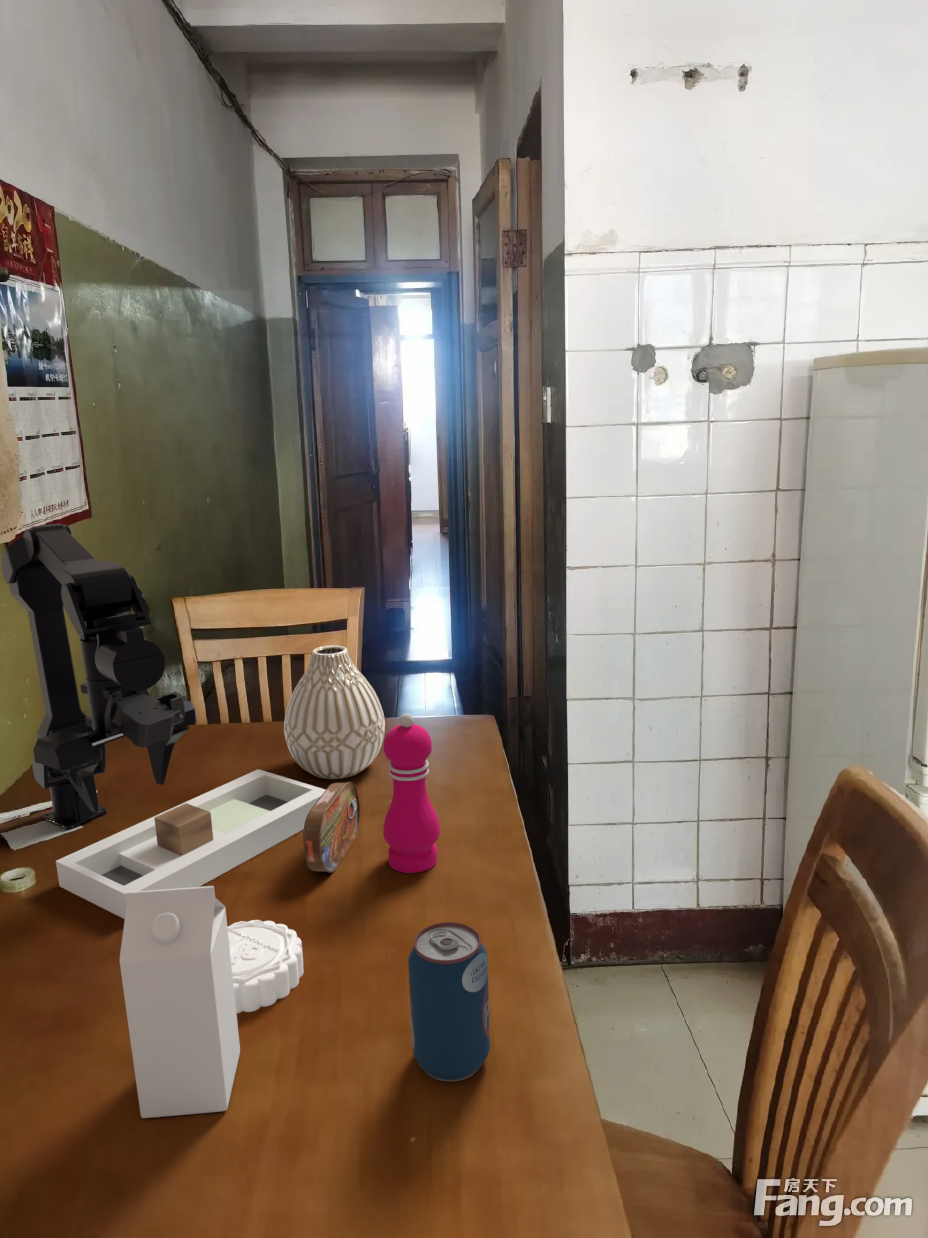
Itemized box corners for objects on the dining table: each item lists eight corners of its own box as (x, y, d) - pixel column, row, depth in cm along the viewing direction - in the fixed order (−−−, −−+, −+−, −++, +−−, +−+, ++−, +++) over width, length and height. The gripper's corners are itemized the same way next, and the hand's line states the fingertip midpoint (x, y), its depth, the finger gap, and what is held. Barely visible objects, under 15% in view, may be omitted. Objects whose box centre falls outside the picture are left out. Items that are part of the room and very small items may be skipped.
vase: (308, 798, 135) (298, 670, 130) (274, 763, 148) (264, 646, 143) (403, 774, 142) (398, 652, 137) (363, 743, 156) (356, 631, 151)
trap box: (59, 886, 112) (55, 861, 111) (260, 790, 138) (258, 769, 137) (132, 923, 103) (129, 896, 102) (331, 813, 129) (330, 791, 128)
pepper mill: (450, 853, 117) (445, 708, 112) (425, 880, 111) (418, 727, 106) (402, 843, 120) (394, 701, 115) (374, 869, 114) (365, 720, 109)
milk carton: (161, 1060, 82) (137, 870, 77) (240, 1053, 82) (221, 865, 78) (140, 1120, 75) (112, 917, 70) (227, 1113, 75) (205, 910, 71)
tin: (325, 885, 110) (321, 822, 108) (301, 883, 111) (296, 820, 109) (363, 828, 125) (360, 772, 123) (341, 827, 125) (338, 771, 123)
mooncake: (160, 990, 92) (156, 959, 91) (249, 932, 101) (246, 903, 101) (241, 1032, 85) (238, 999, 84) (328, 966, 95) (325, 936, 94)
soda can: (505, 1065, 80) (503, 946, 77) (438, 1099, 76) (433, 975, 73) (463, 1022, 85) (459, 909, 82) (399, 1052, 82) (392, 935, 79)
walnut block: (157, 845, 117) (154, 817, 116) (189, 830, 121) (185, 803, 120) (182, 856, 114) (178, 827, 113) (213, 840, 118) (210, 812, 117)
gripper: (78, 705, 94) (98, 843, 98) (218, 662, 109) (232, 783, 112) (21, 692, 101) (42, 821, 104) (161, 653, 115) (176, 767, 119)
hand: (128, 797), depth 110 cm, fingers open, 9 cm apart
